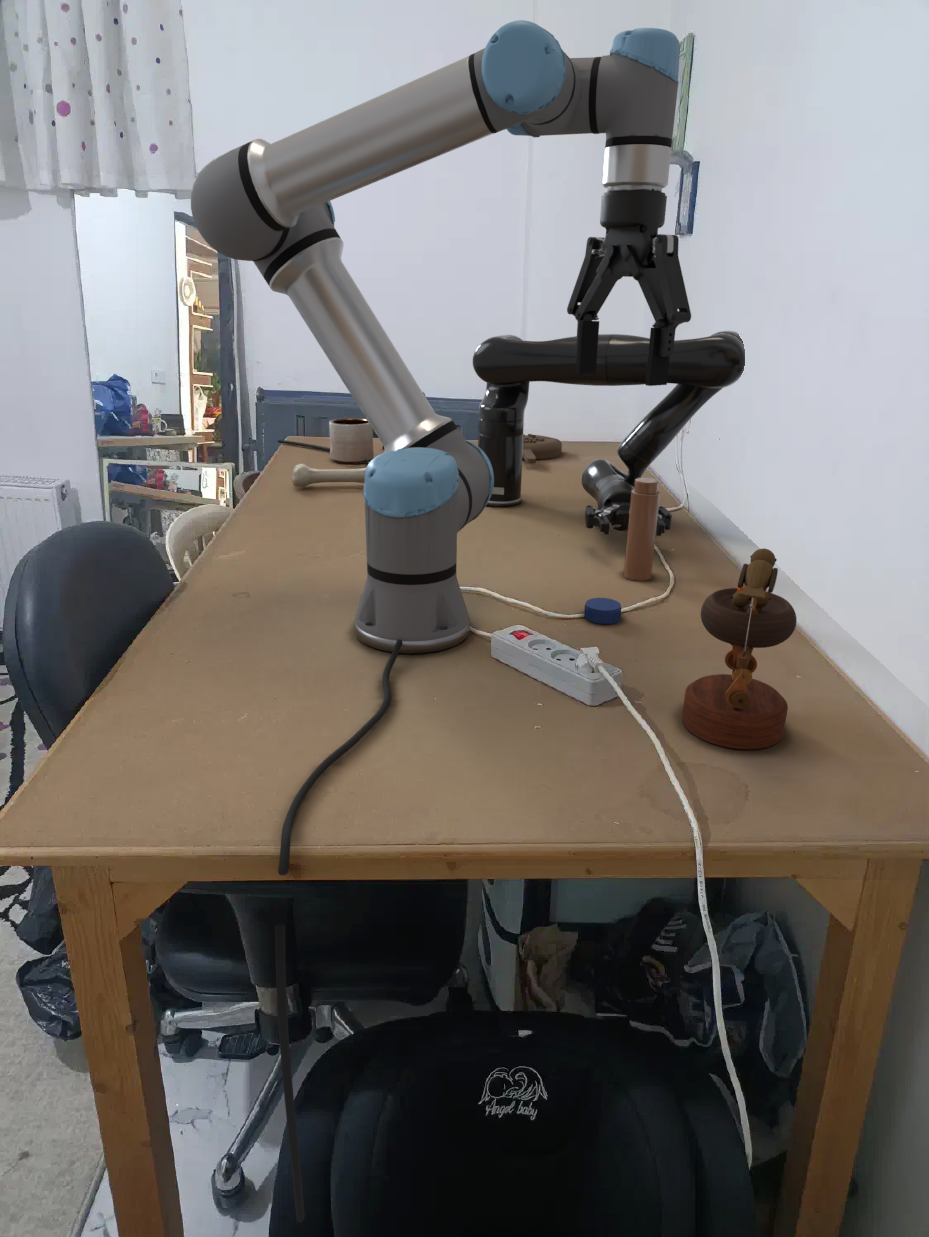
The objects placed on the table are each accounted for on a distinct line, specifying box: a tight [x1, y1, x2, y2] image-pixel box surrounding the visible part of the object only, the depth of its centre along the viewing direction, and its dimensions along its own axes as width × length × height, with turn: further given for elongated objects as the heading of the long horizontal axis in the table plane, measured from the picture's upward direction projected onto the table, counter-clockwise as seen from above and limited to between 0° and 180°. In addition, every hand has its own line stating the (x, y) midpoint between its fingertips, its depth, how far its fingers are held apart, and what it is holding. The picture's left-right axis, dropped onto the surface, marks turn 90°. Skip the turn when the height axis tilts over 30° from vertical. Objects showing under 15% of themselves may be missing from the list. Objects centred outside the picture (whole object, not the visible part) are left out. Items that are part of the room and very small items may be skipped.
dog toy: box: [291, 463, 367, 488], centre depth 187 cm, size 20×6×5 cm, turn 99°
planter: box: [328, 417, 375, 464], centre depth 212 cm, size 11×11×10 cm
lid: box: [583, 597, 622, 625], centre depth 118 cm, size 5×5×2 cm
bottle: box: [623, 477, 661, 582], centre depth 132 cm, size 4×4×16 cm
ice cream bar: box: [522, 433, 563, 464], centre depth 219 cm, size 21×28×4 cm
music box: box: [681, 548, 797, 750], centre depth 88 cm, size 15×11×20 cm
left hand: (619, 379), depth 106 cm, fingers open, 13 cm apart
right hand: (633, 529), depth 138 cm, fingers open, 8 cm apart
